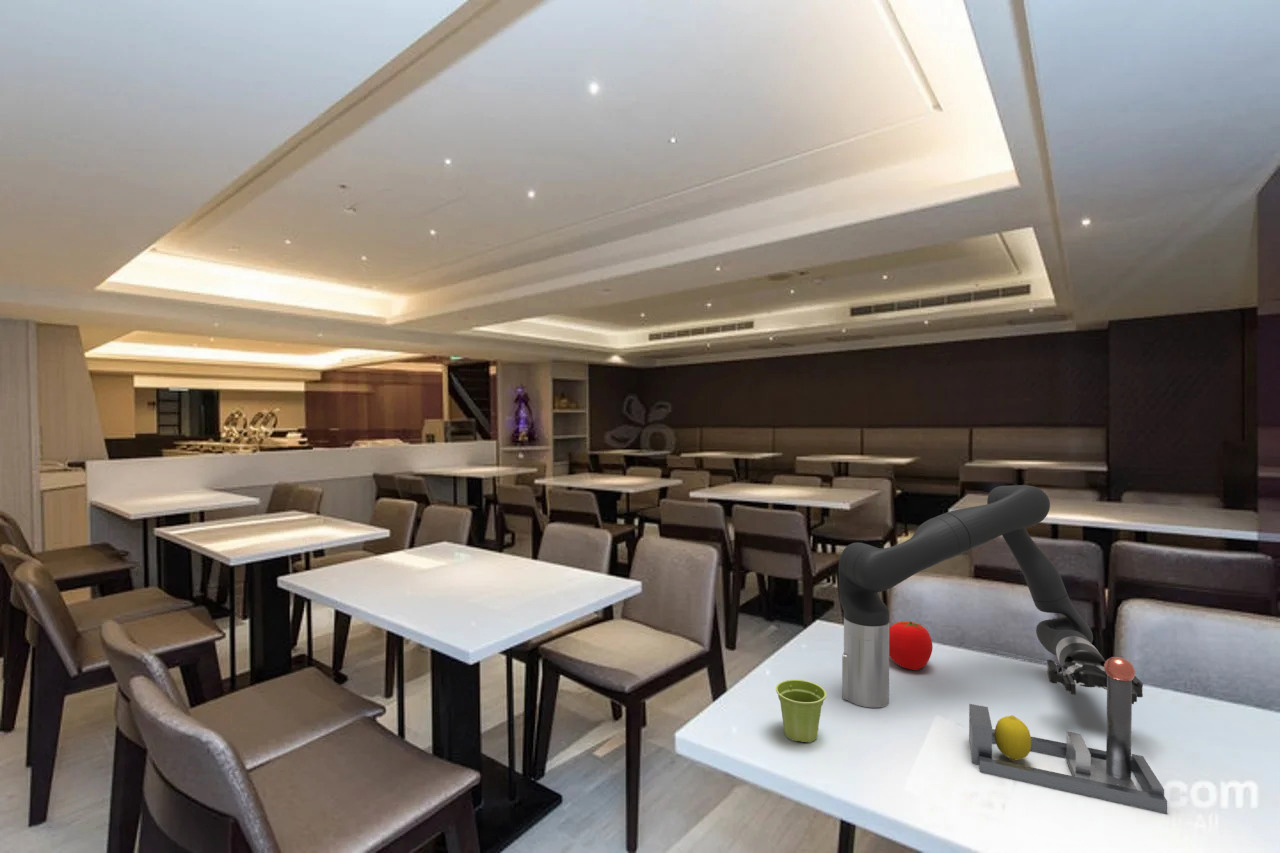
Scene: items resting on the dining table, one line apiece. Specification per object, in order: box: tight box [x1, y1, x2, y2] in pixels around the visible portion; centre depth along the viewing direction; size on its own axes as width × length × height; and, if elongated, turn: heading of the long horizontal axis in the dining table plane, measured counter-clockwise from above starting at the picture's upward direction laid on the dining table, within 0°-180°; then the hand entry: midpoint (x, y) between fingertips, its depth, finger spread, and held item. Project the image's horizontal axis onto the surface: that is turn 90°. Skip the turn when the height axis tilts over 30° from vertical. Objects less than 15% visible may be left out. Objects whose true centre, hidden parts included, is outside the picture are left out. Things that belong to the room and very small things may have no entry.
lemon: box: [994, 715, 1032, 762], centre depth 105 cm, size 6×6×8 cm
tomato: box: [889, 620, 934, 671], centre depth 144 cm, size 10×11×11 cm
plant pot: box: [775, 679, 827, 743], centre depth 113 cm, size 9×9×9 cm
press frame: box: [968, 703, 1168, 814], centre depth 102 cm, size 26×13×7 cm, turn 64°
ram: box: [1065, 656, 1138, 790], centre depth 99 cm, size 8×8×21 cm
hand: (1102, 693), depth 107 cm, fingers open, 8 cm apart
